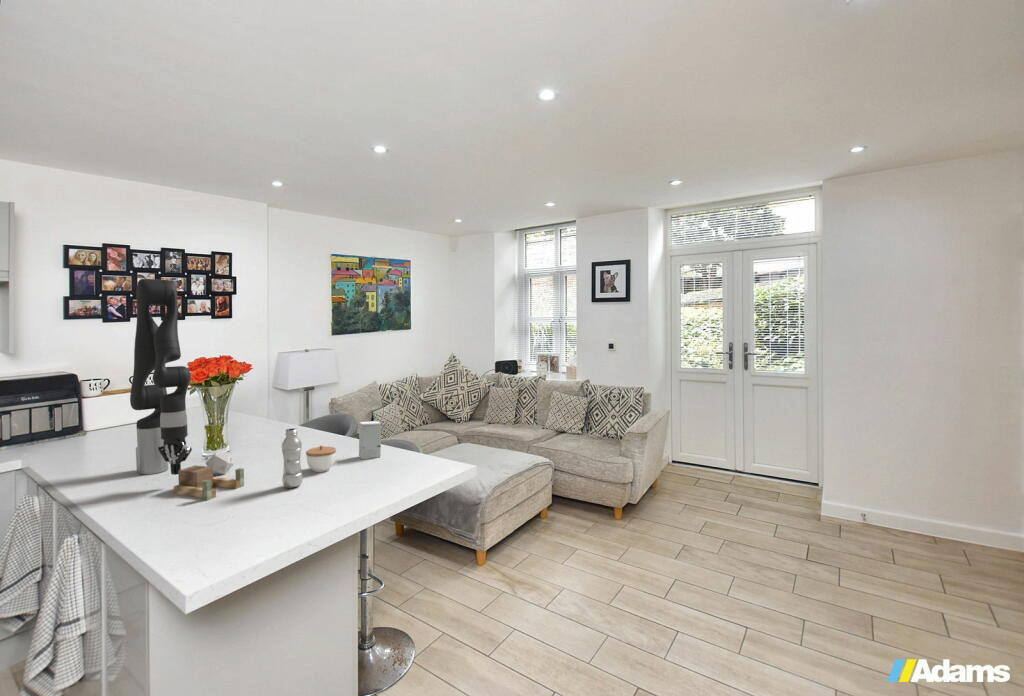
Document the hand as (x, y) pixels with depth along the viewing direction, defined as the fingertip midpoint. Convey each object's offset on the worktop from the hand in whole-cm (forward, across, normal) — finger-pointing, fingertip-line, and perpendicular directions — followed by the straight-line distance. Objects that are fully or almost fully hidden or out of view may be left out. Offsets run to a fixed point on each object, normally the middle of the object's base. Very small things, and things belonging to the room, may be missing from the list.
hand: (175, 473), depth 163 cm
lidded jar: (+5, +36, +30) cm, 47 cm away
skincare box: (+5, +44, +51) cm, 67 cm away
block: (+5, +9, 0) cm, 10 cm away
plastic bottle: (+5, +39, +11) cm, 41 cm away
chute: (+5, +14, 0) cm, 14 cm away
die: (+5, +2, +16) cm, 17 cm away
